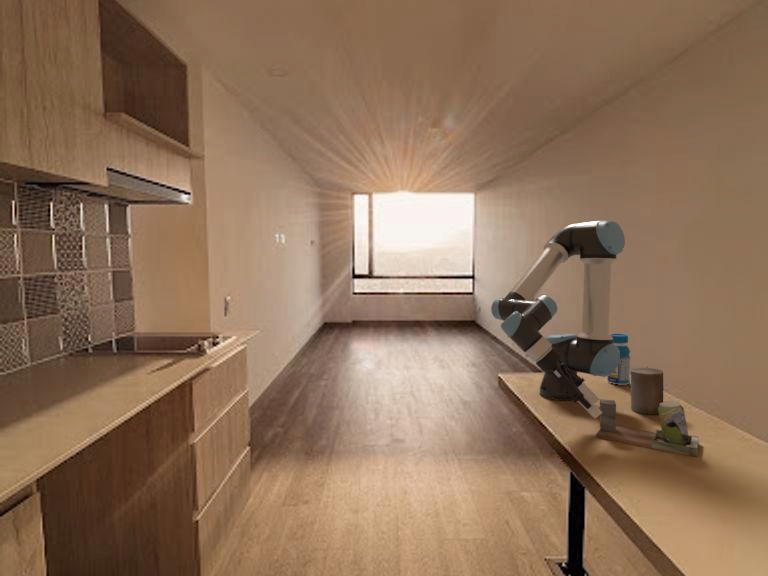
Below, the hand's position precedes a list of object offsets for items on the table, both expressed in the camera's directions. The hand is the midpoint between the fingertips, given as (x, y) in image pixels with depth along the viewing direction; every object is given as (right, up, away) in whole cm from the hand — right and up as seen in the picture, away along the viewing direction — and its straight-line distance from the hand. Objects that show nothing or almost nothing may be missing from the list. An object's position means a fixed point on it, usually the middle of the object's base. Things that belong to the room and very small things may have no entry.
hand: (597, 408), depth 135 cm
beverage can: (+17, -8, -9) cm, 21 cm away
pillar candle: (+26, -6, +20) cm, 33 cm away
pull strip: (+11, -8, -5) cm, 15 cm away
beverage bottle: (+34, -4, +54) cm, 64 cm away
